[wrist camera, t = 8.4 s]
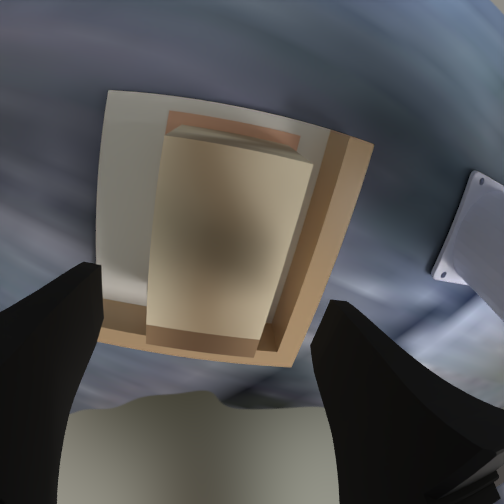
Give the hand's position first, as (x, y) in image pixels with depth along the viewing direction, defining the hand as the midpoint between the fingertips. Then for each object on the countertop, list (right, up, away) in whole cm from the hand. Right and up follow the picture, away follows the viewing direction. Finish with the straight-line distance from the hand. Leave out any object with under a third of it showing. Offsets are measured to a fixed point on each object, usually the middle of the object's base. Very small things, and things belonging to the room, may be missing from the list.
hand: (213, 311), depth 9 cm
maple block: (-1, +3, +6) cm, 7 cm away
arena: (-1, +3, +7) cm, 8 cm away
